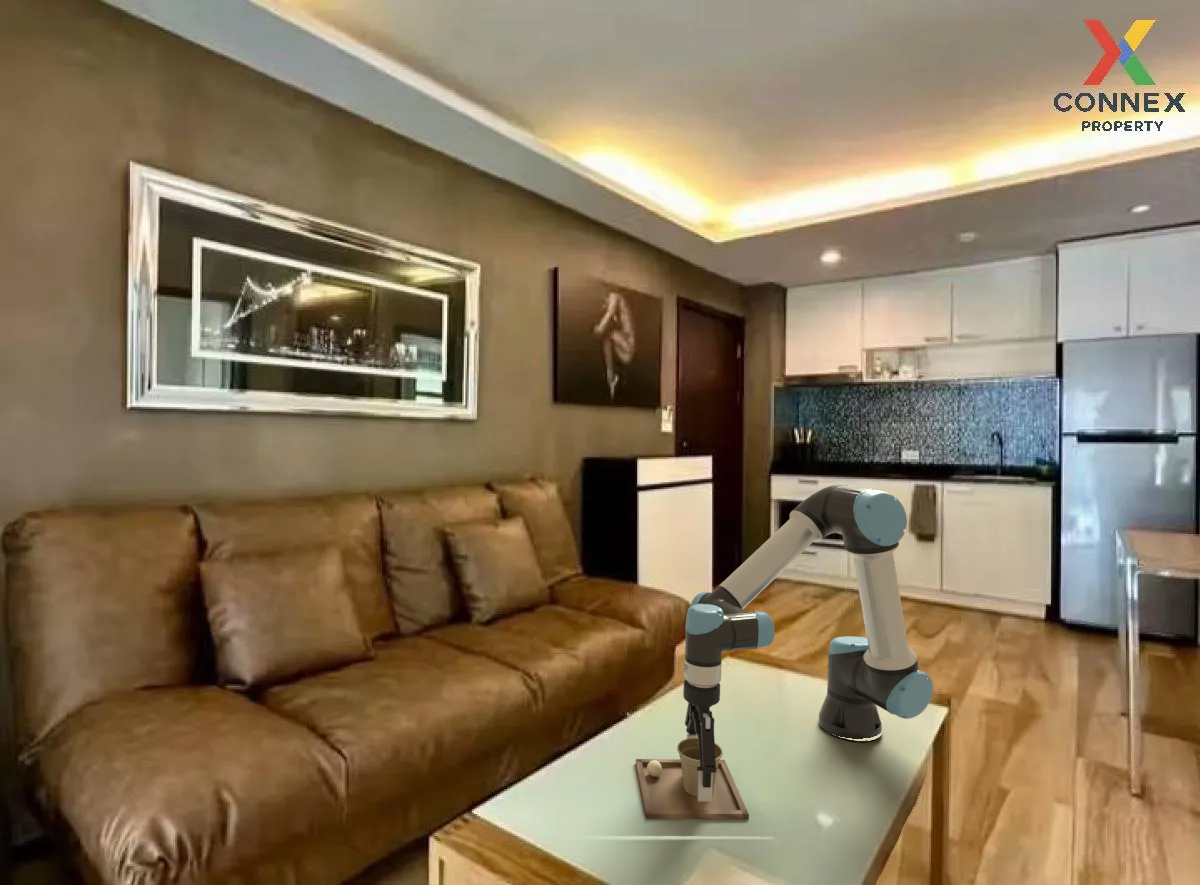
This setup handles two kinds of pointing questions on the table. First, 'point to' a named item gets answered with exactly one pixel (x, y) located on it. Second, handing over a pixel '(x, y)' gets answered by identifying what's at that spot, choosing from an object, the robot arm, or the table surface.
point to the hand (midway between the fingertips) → (698, 781)
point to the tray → (673, 802)
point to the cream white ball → (654, 768)
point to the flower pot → (694, 764)
